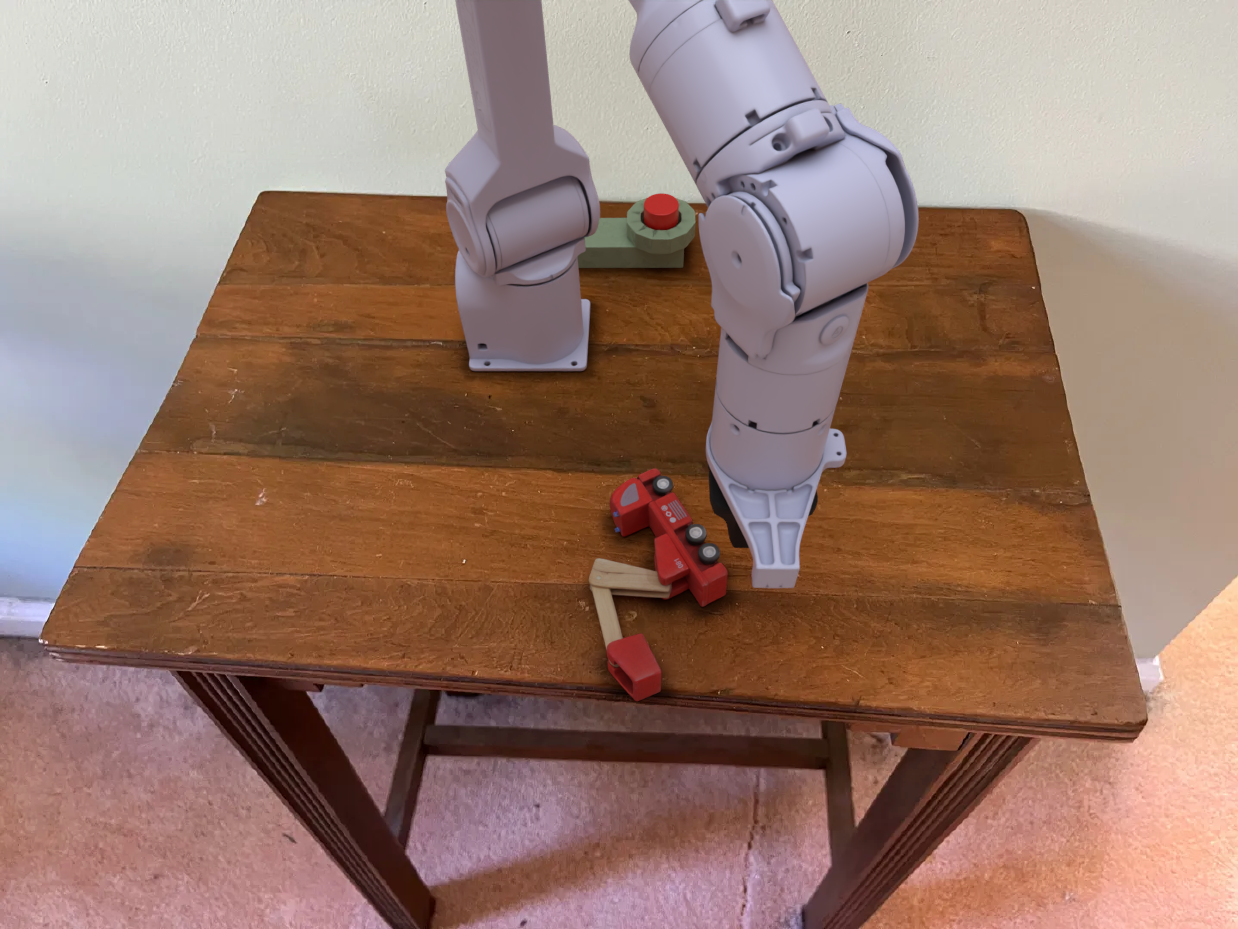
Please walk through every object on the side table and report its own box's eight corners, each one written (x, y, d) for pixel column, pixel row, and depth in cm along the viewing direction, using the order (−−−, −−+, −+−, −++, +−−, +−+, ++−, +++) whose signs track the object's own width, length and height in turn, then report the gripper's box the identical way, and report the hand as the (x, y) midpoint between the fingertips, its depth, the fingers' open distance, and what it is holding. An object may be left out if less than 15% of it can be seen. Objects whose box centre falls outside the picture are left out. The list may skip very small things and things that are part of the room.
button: (643, 231, 74) (643, 215, 73) (643, 209, 76) (643, 192, 75) (678, 231, 74) (679, 214, 73) (678, 209, 76) (678, 192, 74)
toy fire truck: (658, 458, 60) (531, 515, 58) (767, 616, 53) (627, 688, 50) (658, 485, 63) (537, 541, 61) (762, 639, 56) (629, 709, 53)
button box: (570, 275, 76) (566, 239, 73) (573, 232, 80) (570, 195, 77) (694, 275, 76) (696, 238, 73) (692, 231, 80) (694, 195, 76)
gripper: (887, 517, 36) (831, 652, 47) (843, 280, 45) (804, 441, 56) (718, 516, 36) (701, 651, 47) (705, 281, 45) (694, 441, 56)
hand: (749, 538), depth 52 cm, fingers closed
